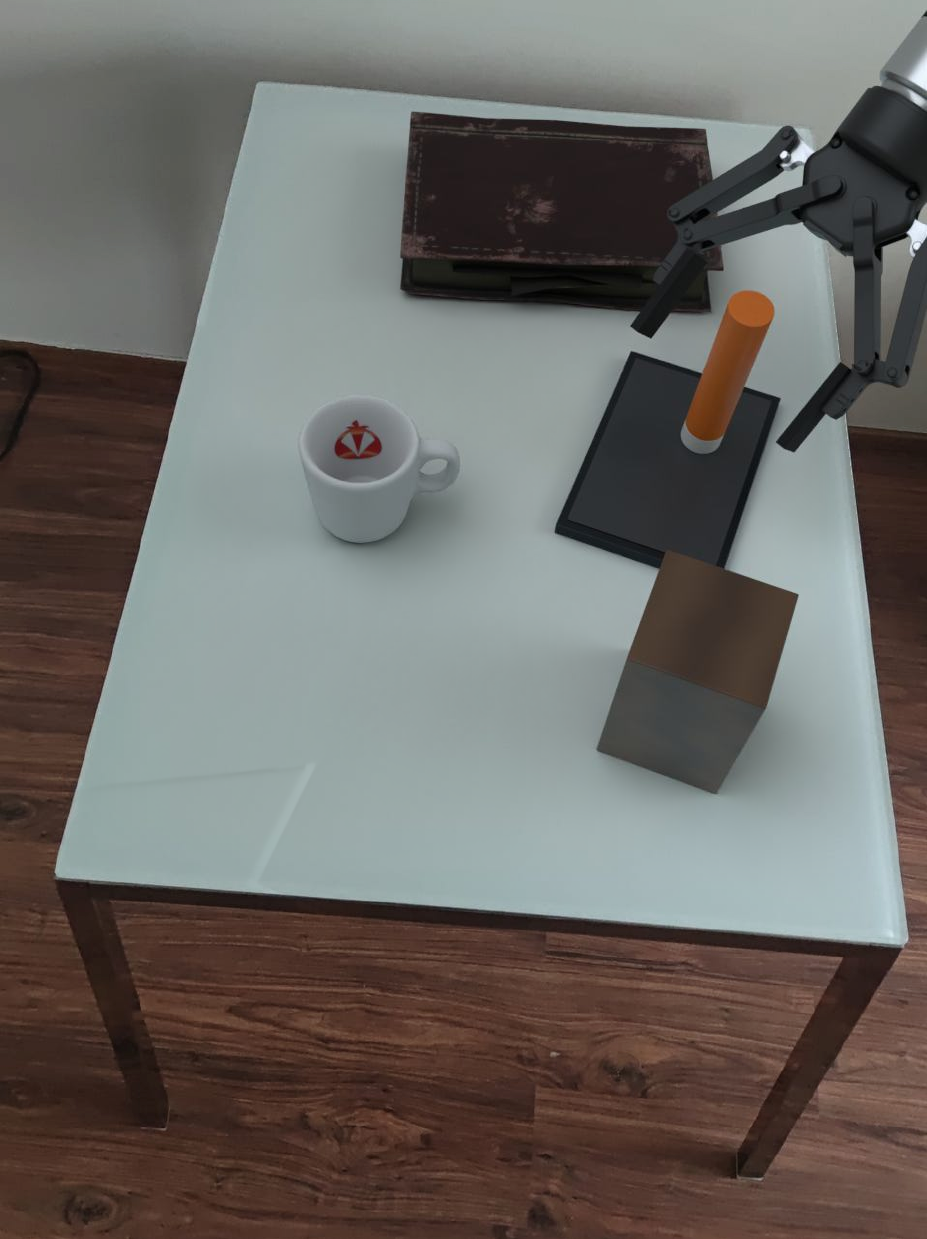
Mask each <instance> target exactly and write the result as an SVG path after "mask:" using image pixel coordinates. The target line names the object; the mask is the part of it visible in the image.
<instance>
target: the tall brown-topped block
mask: <svg viewBox="0 0 927 1239" xmlns="http://www.w3.org/2000/svg"><path fill="white" fill-rule="evenodd" d="M799 598H800V595H799V593H797V592H793V591H791V590H788V589H785V588H781V587H780V586H776V585H773V584H770V583H767V582H765V581H760V580H759V579H758V580H757V579H755V578H752V577H750V576H747V575H744V574H741V573H738V572H735V571H732V570H729V569H726V568H724V569H723V568H720V567H717V566H714V565H711V564H708V563H705V562H703V561H700V560H697V559H694V558H691V557H688V556H685V555H682V554H679V553H676V552H673V551H670V550H666V553H665V555H664V558H663V561H662V563H661V566H660V569H659V568H658V571H657V574H656V577H655V580H654V582H653V585H652V588H651V591H650V594H649V597H648V599H647V601H646V605H645V607H644V610H643V613H642V615H641V618H640V620H639V624H638V627H637V629H636V632H635V634H634V637H633V640H632V643H631V645H630V649H629V651H628V653H627V657H626V659H625V662H624V665H623V668H622V672H621V674H620V677H619V680H618V683H617V686H616V689H615V692H614V694H613V698H612V700H611V703H610V706H609V710H608V713H607V716H606V718H605V722H604V725H603V728H602V731H601V734H600V736H599V740H598V743H597V746H596V751H598V752H601V753H604V754H606V755H609V756H611V757H615V758H616V759H620V760H623V761H625V762H628V763H630V764H633V765H636V766H638V767H641V768H643V769H646V770H649V771H652V772H655V773H657V774H661V775H663V776H666V777H669V778H671V779H674V780H676V781H679V782H681V783H684V784H687V785H690V786H693V787H694V788H695V787H696V788H698V789H701V790H703V791H706V792H709V793H711V794H714V795H717V794H718V792H719V791H720V789H721V787H722V786H723V784H724V782H725V780H726V779H727V777H728V775H729V773H730V772H731V770H732V769H733V766H734V765H735V763H736V762H737V760H738V758H739V757H740V754H741V753H742V752H743V749H744V747H745V746H746V744H747V743H748V741H749V739H750V737H751V735H752V733H753V732H754V730H755V728H756V726H757V724H758V723H759V721H760V720H761V718H762V716H763V714H764V713H765V711H766V709H767V708H768V703H769V699H770V697H771V693H772V690H773V686H774V682H775V679H776V676H777V672H778V668H779V665H780V663H781V659H782V655H783V651H784V649H785V645H786V641H787V637H788V635H789V632H790V631H789V630H790V628H791V623H792V620H793V617H794V613H795V610H796V606H797V604H798V600H799Z"/></svg>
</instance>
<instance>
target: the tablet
mask: <svg viewBox="0 0 927 1239" xmlns="http://www.w3.org/2000/svg"><path fill="white" fill-rule="evenodd" d="M702 373H703V372H700V371H696V370H694V369H690V368H687V367H684V366H680V365H678V364H675V363H671V362H668V361H665V360H661V359H659V358H655V357H653V356H649V355H646V354H643V353H640V352H637V351H633V350H630V351H629V354H628V356H627V359H626V361H625V364H624V366H623V368H622V371H621V373H620V375H619V377H618V380H617V382H616V385H615V387H614V389H613V392H612V393H611V396H610V398H609V401H608V403H607V405H606V408H605V410H604V412H603V415H602V416H601V419H600V422H599V424H598V426H597V429H596V431H595V433H594V435H593V438H592V440H591V442H590V444H589V447H588V449H587V451H586V454H585V456H584V459H583V461H582V463H581V465H580V467H579V470H578V472H577V475H576V476H575V479H574V482H573V484H572V485H571V489H570V491H569V493H568V495H567V498H566V500H565V503H564V504H563V507H562V509H561V511H560V514H559V517H558V519H557V520H556V523H555V527H554V533H555V534H557V535H561V536H563V537H566V538H569V539H572V540H575V541H577V542H581V543H583V544H585V545H586V544H587V545H590V546H592V547H596V548H598V549H601V550H604V551H606V552H610V553H613V554H616V555H619V556H622V557H624V558H628V559H630V560H633V561H635V562H639V563H641V564H645V565H648V566H651V567H654V568H656V569H658V570H659V569H660V566H661V563H662V561H663V558H664V555H665V553H666V550H670V551H673V552H676V553H679V554H682V555H685V556H688V557H691V558H694V559H697V560H700V561H703V562H705V563H708V564H711V565H714V566H717V567H720V568H723V569H726V564H727V561H728V558H729V555H730V552H731V549H732V546H733V543H734V540H735V538H736V535H737V531H738V529H739V526H740V522H741V519H742V516H743V513H744V511H745V507H746V504H747V501H748V498H749V496H750V492H751V489H752V486H753V484H754V480H755V478H756V474H757V472H758V469H759V465H760V463H761V459H762V456H763V454H764V451H765V448H766V445H767V442H768V438H769V436H770V432H771V431H772V430H771V429H772V426H773V424H774V420H775V417H776V415H777V411H778V409H779V405H780V402H781V397H779V396H775V395H772V394H770V393H766V392H763V391H759V390H757V389H753V388H751V387H747V386H744V388H743V391H742V393H741V396H740V398H739V400H738V403H737V405H736V407H735V410H734V412H733V415H732V417H731V419H730V422H729V424H728V426H727V429H726V431H725V434H724V436H723V438H722V441H721V443H720V445H719V447H718V448H717V449H716V450H715V451H713V452H711V453H707V454H699V453H695V452H693V451H691V450H689V449H688V448H687V447H686V446H685V445H684V444H683V442H682V439H681V430H682V428H683V425H684V422H685V419H686V417H687V414H688V411H689V408H690V406H691V403H692V400H693V398H694V395H695V392H696V389H697V387H698V384H699V381H700V378H701V376H702Z"/></svg>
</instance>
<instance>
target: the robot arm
mask: <svg viewBox="0 0 927 1239" xmlns="http://www.w3.org/2000/svg"><path fill="white" fill-rule="evenodd" d="M879 80H880V82H881V85H873V86H872V87H867V88H866V89H865V91H864V92H863V93H862V95H861V96H860V97H859V99H858V100H857V102H856V103H855V105H854V106H853V107H852V109H851V110H850V111H849V112H848V114H847V115H846V117H845V118H844V119H843V120H842V122H841V123H840V125H839V126H838V127H837V128H836V130H835V132H834V133H833V135H832V137H831V138H830V140H829V141H828V142H827V144H825V145H824V146H822V147H821V148H819V149H818V150H814V149H813V148H812V147H811V146H810V145H809V144H808V143H806V142H805V141H804V139H803V138H802V136H801V135H800V133H798V132H797V131H796V129H795V128H794V126H791V125H784V126H782V127H781V128H780V129H779V130H778V131H777V132H776V133H775V134H774V135H773V137H771V139H770V140H769V141H768V142H767V143H766V144H765V146H763V148H761V150H759V151H757V152H756V153H755V154H753V155H751V156H750V157H748V158H746V159H744V160H743V161H741V162H740V163H738V164H736V165H735V166H733V167H731V168H730V169H728V170H727V171H725V172H723V173H722V174H721V175H719V176H717V177H715V178H713V180H712V181H711V182H709V183H707V184H706V185H704V186H702V187H701V188H699V189H698V190H696V191H694V192H693V193H691V194H689V195H688V196H686V197H685V198H683V199H681V200H680V201H678V202H676V203H675V204H673V205H672V206H670V207H669V209H668V211H667V218H668V219H669V220H670V221H671V222H672V224H673V226H674V227H675V229H676V231H677V233H678V240H677V242H676V244H675V245H674V247H673V248H672V250H671V251H670V252H669V254H668V255H667V256H666V258H665V259H664V261H663V262H662V263H661V265H660V266H659V268H658V269H657V270H656V272H655V274H654V277H653V281H655V282H656V283H657V284H658V285H659V287H658V288H657V290H656V291H655V292H654V294H653V295H652V296H651V298H650V299H649V301H648V302H647V303H646V305H645V306H644V307H643V309H642V310H641V311H640V312H639V313H638V314H637V316H636V317H635V319H634V320H633V321H632V322H631V324H630V325H629V327H630V328H631V329H633V330H634V331H635V332H636V333H638V334H641V335H643V336H645V337H646V338H648V339H653V338H654V336H655V335H656V334H657V332H658V331H659V329H660V327H661V326H662V325H663V324H664V323H665V321H666V320H667V318H668V317H669V316H670V314H671V313H672V312H673V311H672V310H673V309H674V307H675V306H676V305H677V303H678V302H679V301H680V299H681V298H682V296H683V295H684V294H685V292H686V291H687V290H688V288H689V287H690V286H691V284H692V283H693V282H694V280H695V279H696V277H697V276H698V275H699V273H700V272H701V271H702V269H703V268H704V267H705V265H706V264H707V263H708V262H707V261H705V260H704V259H703V258H701V257H700V256H699V255H697V254H704V252H702V251H704V250H708V249H711V248H714V247H717V246H720V245H721V246H723V245H726V244H730V243H732V242H736V241H739V240H742V239H745V238H749V237H751V236H756V235H758V234H761V233H765V232H767V231H770V230H774V229H778V228H780V227H784V226H794V225H798V224H802V225H803V226H804V227H805V228H806V230H808V231H809V232H810V233H811V234H812V235H814V236H815V237H817V238H818V239H820V240H824V241H827V242H828V243H829V244H830V245H831V247H832V248H833V249H834V250H836V251H837V252H838V253H839V254H841V255H842V256H844V257H845V258H846V257H852V264H853V270H854V297H853V298H854V306H853V311H854V312H853V313H854V314H853V315H854V316H853V320H854V321H853V327H854V328H853V336H854V337H853V363H851V368H850V367H849V366H848V365H846V364H844V363H843V362H842V361H839V362H838V364H837V365H836V367H835V368H834V369H833V370H832V371H831V373H830V374H829V375H828V376H827V377H826V379H824V381H823V383H821V385H820V386H819V387H818V388H817V390H816V391H815V392H814V394H813V395H812V396H811V397H810V398H809V400H808V401H807V403H805V404H804V406H803V407H802V408H801V409H800V411H799V412H798V413H797V415H796V416H795V417H794V418H793V419H792V421H791V422H790V423H789V425H787V427H786V428H785V429H784V431H783V432H782V433H781V434H780V436H779V437H778V438H777V439H776V441H775V443H776V444H777V445H778V446H779V447H781V448H782V449H783V450H786V451H788V452H791V453H796V451H797V450H798V449H799V447H800V446H801V445H802V444H803V443H804V442H805V441H806V439H807V438H808V437H809V436H810V434H812V432H813V431H814V429H815V428H816V427H817V425H819V424H820V423H821V421H822V420H823V419H824V418H825V416H826V415H827V416H828V417H829V418H831V419H833V420H835V421H837V420H838V419H840V418H842V417H844V416H845V414H846V413H847V412H848V411H849V410H850V408H851V407H852V406H853V404H854V403H855V402H856V401H857V400H858V399H859V397H860V396H862V393H864V391H865V390H867V388H868V387H869V386H870V385H871V384H874V383H880V384H884V385H888V386H892V387H894V388H899V389H901V388H903V387H905V386H906V385H907V384H908V382H909V379H910V377H911V372H912V368H913V365H914V362H915V361H914V360H915V357H916V354H917V353H916V352H917V349H918V345H919V341H920V337H921V333H922V330H923V326H924V322H925V319H926V314H927V223H924V222H922V221H920V220H919V217H920V214H921V212H922V210H923V208H924V206H926V205H927V10H925V12H924V13H923V14H922V15H921V17H920V19H918V21H917V23H915V25H914V26H913V28H912V29H911V30H910V31H909V33H908V34H907V35H906V36H905V38H904V39H903V40H902V42H901V43H900V44H899V45H898V47H897V48H896V49H895V51H894V52H893V54H892V55H891V56H890V57H889V59H888V60H887V61H886V63H884V65H883V67H882V68H881V69H880V71H879ZM802 166H803V172H802V184H801V186H797V187H795V188H792V189H789V190H786V191H785V190H784V191H783V192H780V193H778V194H776V195H775V196H774V197H772V198H769V199H767V200H763V201H760V202H758V203H757V202H756V203H755V204H751V205H748V206H745V207H742V208H739V209H736V210H733V211H729V212H727V213H723V214H720V215H718V216H717V217H714V218H711V219H708V220H706V219H707V218H709V217H711V216H712V215H714V214H716V213H717V214H718V213H719V212H721V211H722V210H724V209H726V208H728V207H729V206H731V205H732V204H734V203H736V202H738V201H739V200H741V199H742V198H744V197H746V196H747V195H749V194H751V193H753V192H754V191H756V190H757V189H759V188H761V187H762V186H764V185H766V184H768V183H769V182H771V181H773V180H774V179H775V178H778V177H779V176H780V175H781V174H783V172H784V171H785V172H792V171H794V170H796V169H797V168H798V167H799V168H800V167H802ZM704 220H705V221H704ZM907 238H910V245H909V248H908V253H909V255H910V257H911V258H912V260H911V263H910V267H909V269H908V273H907V276H906V280H905V283H904V284H905V285H904V288H903V292H902V295H901V300H900V303H899V307H898V310H897V314H896V315H897V316H896V319H895V323H894V327H893V331H892V335H891V339H890V343H889V346H888V349H887V354H886V358H885V361H882V360H881V358H882V357H881V356H882V355H881V353H882V352H881V350H882V345H881V343H882V342H881V341H882V276H883V268H884V248H885V247H887V246H890V245H892V244H895V243H897V242H900V241H902V240H903V241H904V240H906V239H907Z"/></svg>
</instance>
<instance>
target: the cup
mask: <svg viewBox="0 0 927 1239" xmlns="http://www.w3.org/2000/svg"><path fill="white" fill-rule="evenodd" d="M297 442H298V443H297V445H298V446H297V448H298V455H299V459H300V462H301V465H302V470H303V473H304V477H305V481H306V484H307V488H308V493H309V495H310V500H311V504H312V506H313V510H314V512H315V515H316V517H317V518H318V521H319V522H320V523H321V524H322V526H323V528H324V529H326V531H328V532H329V533H330V534H332V535H333V536H335V537H336V538H339V539H340V540H344V541H347V542H351V543H355V544H356V543H364V544H366V543H373V542H377V541H379V540H382V539H384V538H386V537H388V536H389V535H391V534H392V533H393V532H395V531H397V529H398V528H399V527H400V526H401V524H402V523H403V521H404V520H405V518H406V516H407V513H408V510H409V507H410V504H411V501H412V499H413V497H414V496H415V495H417V494H427V493H435V492H436V493H437V492H440V491H444V490H447V489H448V488H449V487H451V486H452V485H453V484H454V483H455V482H456V480H457V478H458V477H459V473H460V471H461V470H460V469H461V458H460V455H459V451H458V449H457V447H456V446H455V445H454V443H452V442H450V441H448V440H445V439H441V438H427V437H426V438H423V437H420V434H419V431H418V428H417V426H416V424H415V422H414V420H413V419H412V418H411V416H410V414H408V413H407V412H406V411H405V410H404V409H403V408H401V407H400V406H398V405H397V404H395V403H393V402H392V401H391V400H387V399H385V398H383V397H378V396H373V395H368V394H351V395H344V396H340V397H336V398H333V399H331V400H329V401H326V402H324V403H323V404H321V405H320V406H318V407H317V408H316V409H314V410H313V411H312V412H311V413H310V414H309V415H308V416H307V418H306V419H305V421H304V422H303V423H302V426H301V428H300V431H299V435H298V440H297ZM433 460H443V461H446V466H445V467H444V468H443V469H442V470H441V471H440V472H437V473H433V474H427V473H423V472H421V469H422V468H423V466H425V465H426V463H428V462H430V461H433Z"/></svg>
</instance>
